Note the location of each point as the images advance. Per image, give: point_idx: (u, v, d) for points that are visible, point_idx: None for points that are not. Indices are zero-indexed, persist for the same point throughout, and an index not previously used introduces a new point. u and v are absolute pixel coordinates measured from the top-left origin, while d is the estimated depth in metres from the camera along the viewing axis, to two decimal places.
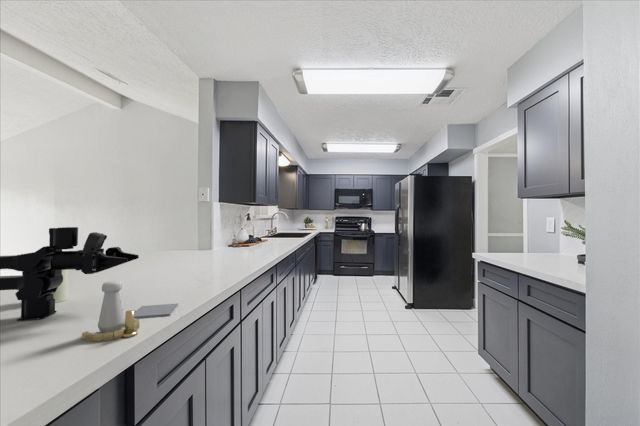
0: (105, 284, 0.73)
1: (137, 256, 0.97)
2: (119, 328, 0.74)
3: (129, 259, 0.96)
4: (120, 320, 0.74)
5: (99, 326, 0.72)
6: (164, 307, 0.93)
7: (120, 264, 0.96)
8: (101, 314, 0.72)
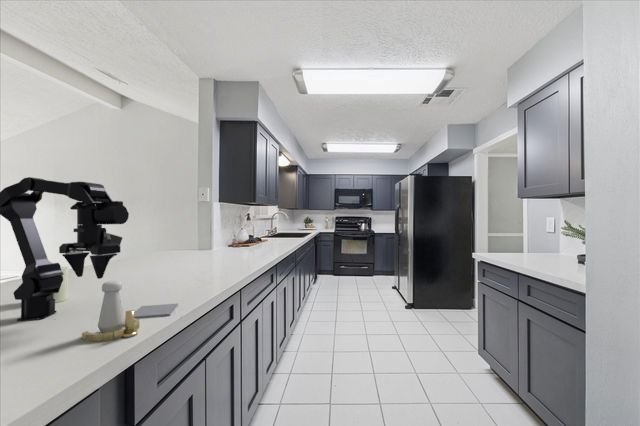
0: (105, 284, 0.73)
1: (80, 275, 0.86)
2: (119, 328, 0.74)
3: (76, 268, 0.85)
4: (120, 320, 0.74)
5: (99, 326, 0.72)
6: (164, 307, 0.93)
7: (69, 259, 0.84)
8: (101, 314, 0.72)
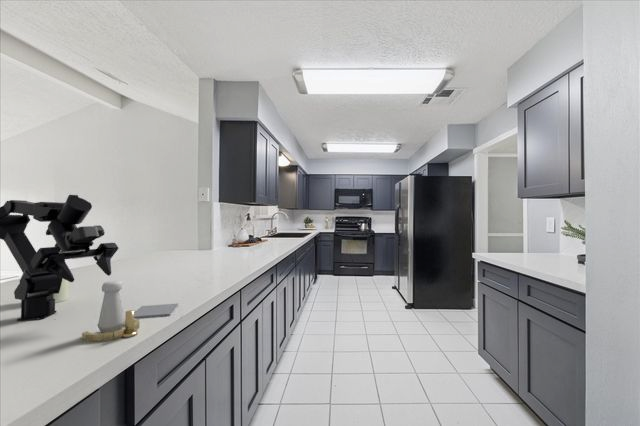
0: (105, 284, 0.73)
1: (109, 273, 0.82)
2: (119, 328, 0.74)
3: (103, 269, 0.83)
4: (120, 320, 0.74)
5: (99, 326, 0.72)
6: (164, 307, 0.93)
7: (98, 265, 0.84)
8: (101, 314, 0.72)
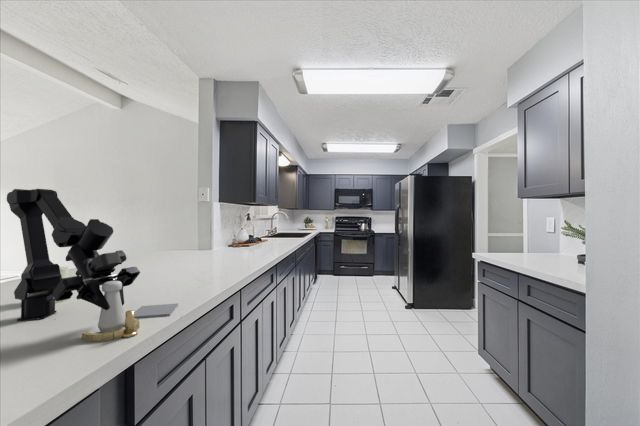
0: (105, 284, 0.73)
1: (122, 304, 0.76)
2: (119, 328, 0.74)
3: None
4: (120, 320, 0.74)
5: (99, 326, 0.72)
6: (164, 307, 0.93)
7: None
8: (101, 314, 0.72)
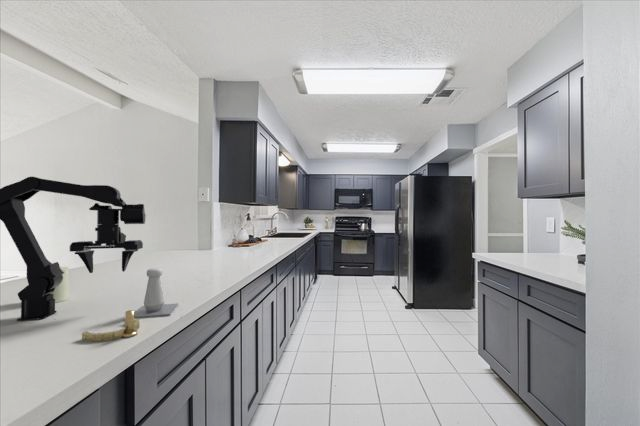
0: (152, 270, 0.89)
1: (91, 272, 0.92)
2: (162, 305, 0.91)
3: (90, 265, 0.92)
4: (164, 299, 0.91)
5: (149, 305, 0.88)
6: (164, 307, 0.93)
7: (85, 256, 0.90)
8: (149, 295, 0.88)
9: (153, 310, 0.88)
